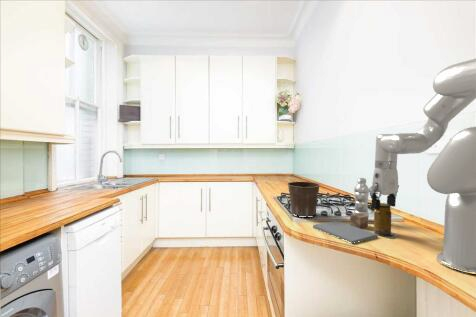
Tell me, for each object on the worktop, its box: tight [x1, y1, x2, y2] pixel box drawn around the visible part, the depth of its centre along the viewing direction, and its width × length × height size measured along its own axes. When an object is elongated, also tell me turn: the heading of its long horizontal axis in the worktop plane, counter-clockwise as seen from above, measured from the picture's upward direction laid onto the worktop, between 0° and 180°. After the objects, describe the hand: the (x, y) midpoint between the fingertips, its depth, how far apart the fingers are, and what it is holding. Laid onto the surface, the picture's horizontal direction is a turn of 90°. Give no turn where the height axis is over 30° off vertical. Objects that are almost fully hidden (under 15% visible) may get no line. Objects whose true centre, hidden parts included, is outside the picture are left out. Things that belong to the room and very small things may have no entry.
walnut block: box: [349, 213, 369, 229], centre depth 110 cm, size 5×5×5 cm
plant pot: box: [286, 181, 321, 217], centre depth 127 cm, size 16×16×16 cm
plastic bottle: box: [353, 177, 370, 219], centre depth 117 cm, size 6×7×20 cm
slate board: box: [312, 220, 378, 243], centre depth 103 cm, size 20×14×1 cm
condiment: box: [371, 202, 400, 239], centre depth 100 cm, size 7×8×12 cm
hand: (383, 207), depth 100 cm, fingers open, 9 cm apart
